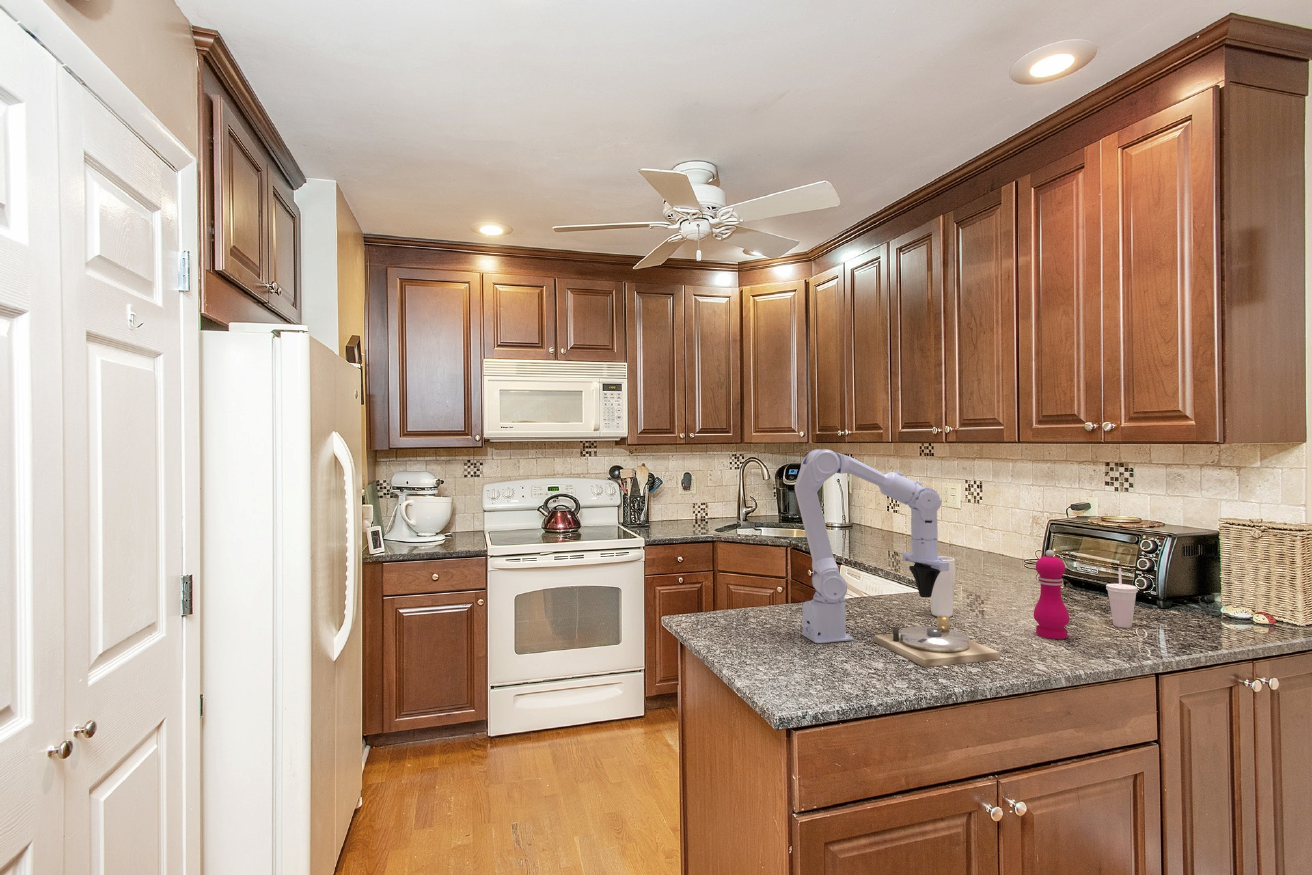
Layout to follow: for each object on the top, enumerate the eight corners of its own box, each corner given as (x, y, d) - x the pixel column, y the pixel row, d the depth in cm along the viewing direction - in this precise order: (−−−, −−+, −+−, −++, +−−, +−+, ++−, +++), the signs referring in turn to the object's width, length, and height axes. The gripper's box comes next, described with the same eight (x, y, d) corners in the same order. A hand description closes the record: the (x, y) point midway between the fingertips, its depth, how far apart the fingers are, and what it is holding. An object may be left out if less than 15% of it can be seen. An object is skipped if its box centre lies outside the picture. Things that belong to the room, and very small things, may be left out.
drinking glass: (952, 619, 169) (951, 561, 169) (925, 616, 173) (924, 558, 174) (959, 614, 175) (957, 557, 175) (932, 610, 179) (931, 555, 179)
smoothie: (1128, 622, 165) (1127, 566, 165) (1144, 629, 159) (1143, 570, 159) (1101, 622, 166) (1100, 565, 166) (1116, 629, 159) (1115, 570, 159)
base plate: (924, 667, 134) (924, 644, 134) (874, 641, 151) (874, 622, 151) (999, 659, 138) (999, 637, 138) (942, 635, 156) (942, 616, 156)
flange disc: (953, 656, 135) (953, 634, 135) (888, 642, 145) (888, 621, 145) (979, 641, 144) (979, 620, 145) (917, 629, 155) (916, 610, 155)
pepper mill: (1075, 640, 150) (1073, 552, 151) (1040, 639, 152) (1038, 551, 152) (1062, 631, 157) (1060, 547, 158) (1029, 630, 159) (1027, 547, 159)
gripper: (960, 541, 149) (961, 602, 149) (919, 533, 163) (920, 589, 163) (933, 543, 147) (934, 604, 147) (894, 535, 161) (895, 591, 161)
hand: (925, 596), depth 155 cm, fingers closed
